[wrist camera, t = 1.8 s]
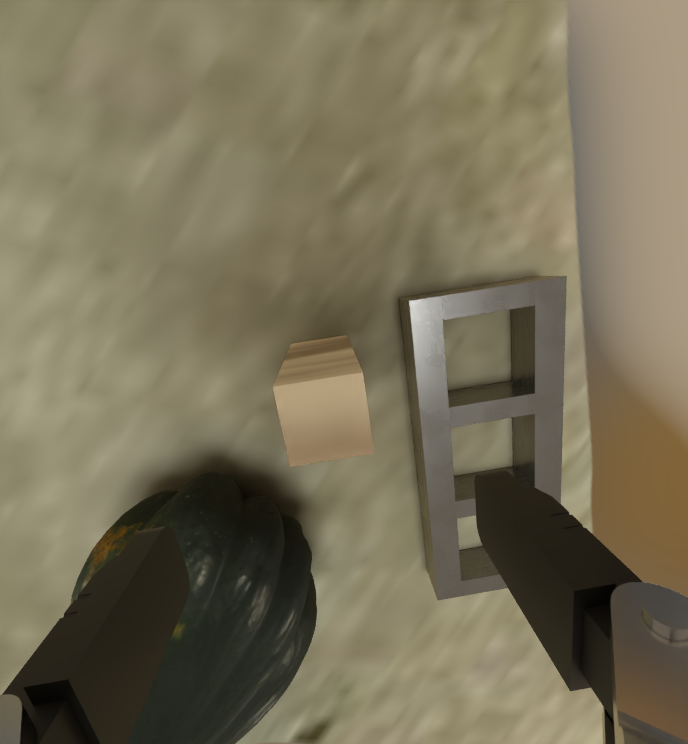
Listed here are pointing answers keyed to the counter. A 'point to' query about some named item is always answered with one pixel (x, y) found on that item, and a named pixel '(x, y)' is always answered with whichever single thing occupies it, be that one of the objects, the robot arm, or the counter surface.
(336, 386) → the square peg
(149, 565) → the robot arm
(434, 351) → the gray slotted tray
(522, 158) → the counter surface
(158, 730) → the squash
